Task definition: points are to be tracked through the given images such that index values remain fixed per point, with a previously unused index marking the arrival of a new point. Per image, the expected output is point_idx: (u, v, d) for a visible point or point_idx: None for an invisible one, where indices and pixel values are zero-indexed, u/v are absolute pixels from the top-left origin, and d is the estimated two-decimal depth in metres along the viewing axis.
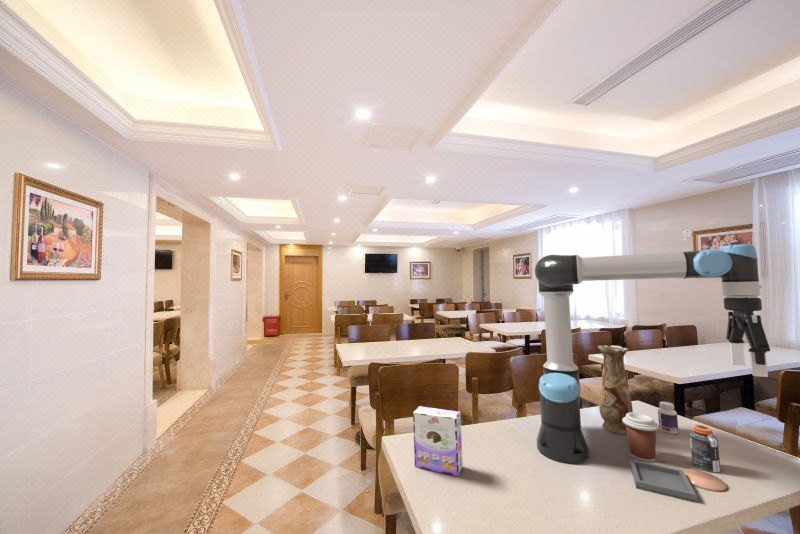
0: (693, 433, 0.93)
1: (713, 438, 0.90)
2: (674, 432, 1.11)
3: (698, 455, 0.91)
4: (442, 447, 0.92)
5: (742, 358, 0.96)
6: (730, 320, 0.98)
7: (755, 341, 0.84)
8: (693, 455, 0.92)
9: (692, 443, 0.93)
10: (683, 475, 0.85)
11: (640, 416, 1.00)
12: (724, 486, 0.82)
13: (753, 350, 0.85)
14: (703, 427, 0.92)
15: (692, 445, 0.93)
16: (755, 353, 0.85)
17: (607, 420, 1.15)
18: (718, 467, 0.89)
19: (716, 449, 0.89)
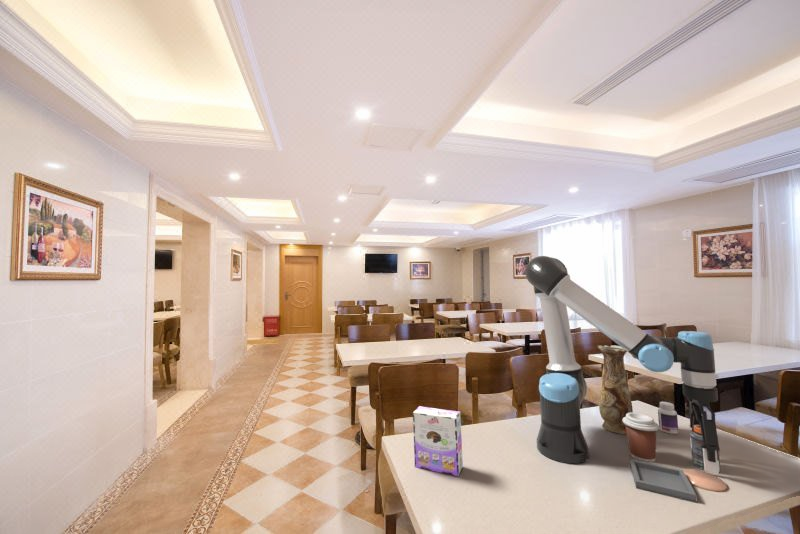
0: (693, 433, 0.93)
1: None
2: (674, 432, 1.11)
3: (698, 455, 0.91)
4: (442, 447, 0.92)
5: None
6: (691, 406, 0.98)
7: (707, 440, 0.86)
8: (693, 455, 0.92)
9: (692, 443, 0.93)
10: (683, 475, 0.85)
11: (640, 416, 1.00)
12: (724, 486, 0.82)
13: (704, 447, 0.87)
14: None
15: (692, 445, 0.93)
16: (707, 449, 0.88)
17: (607, 420, 1.15)
18: (718, 467, 0.89)
19: None
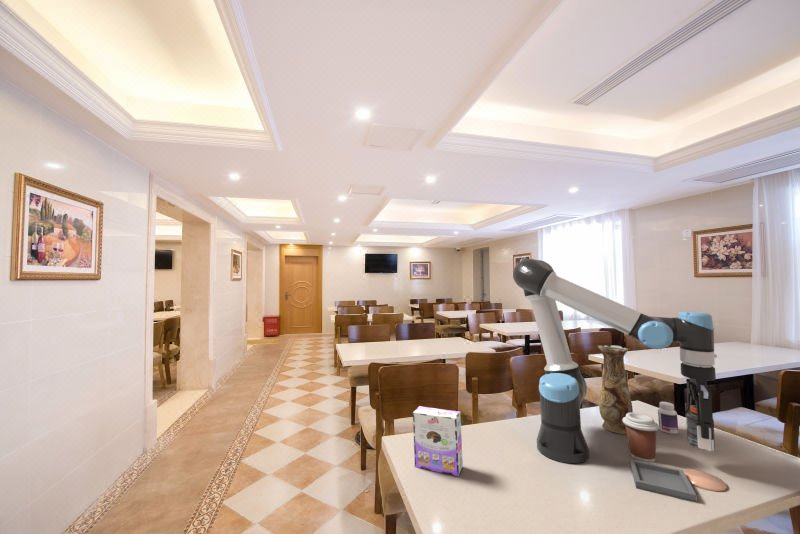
0: (689, 413, 0.94)
1: None
2: (674, 432, 1.11)
3: (693, 434, 0.91)
4: (442, 447, 0.92)
5: None
6: (688, 387, 0.98)
7: (701, 417, 0.88)
8: (688, 434, 0.93)
9: (688, 423, 0.93)
10: (683, 475, 0.85)
11: (640, 416, 1.00)
12: (724, 486, 0.82)
13: (699, 425, 0.89)
14: None
15: (688, 425, 0.93)
16: (701, 427, 0.89)
17: (607, 420, 1.15)
18: (713, 446, 0.90)
19: (712, 429, 0.90)
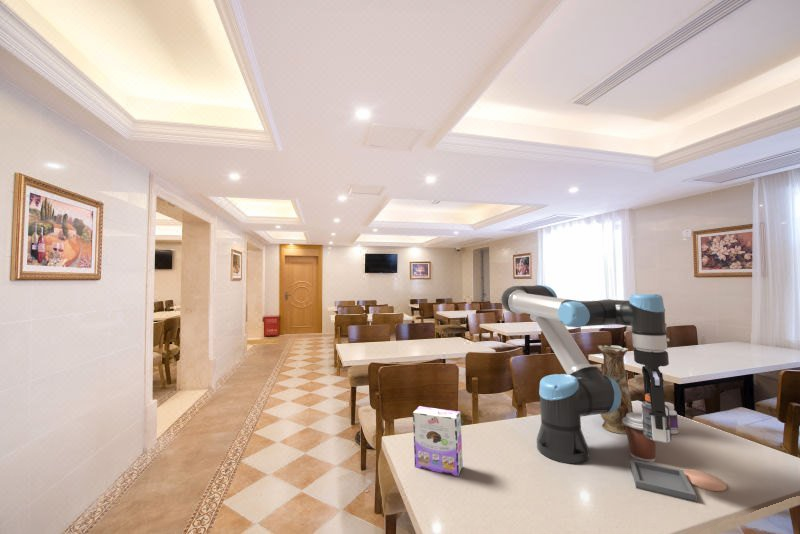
0: (644, 402, 0.87)
1: None
2: (674, 432, 1.11)
3: (648, 425, 0.85)
4: (442, 447, 0.92)
5: None
6: None
7: (654, 406, 0.81)
8: (644, 425, 0.86)
9: (643, 413, 0.87)
10: (683, 475, 0.85)
11: (640, 416, 1.00)
12: (724, 486, 0.82)
13: (652, 414, 0.83)
14: None
15: (643, 415, 0.87)
16: (654, 417, 0.83)
17: (607, 420, 1.15)
18: (668, 437, 0.83)
19: (666, 418, 0.83)
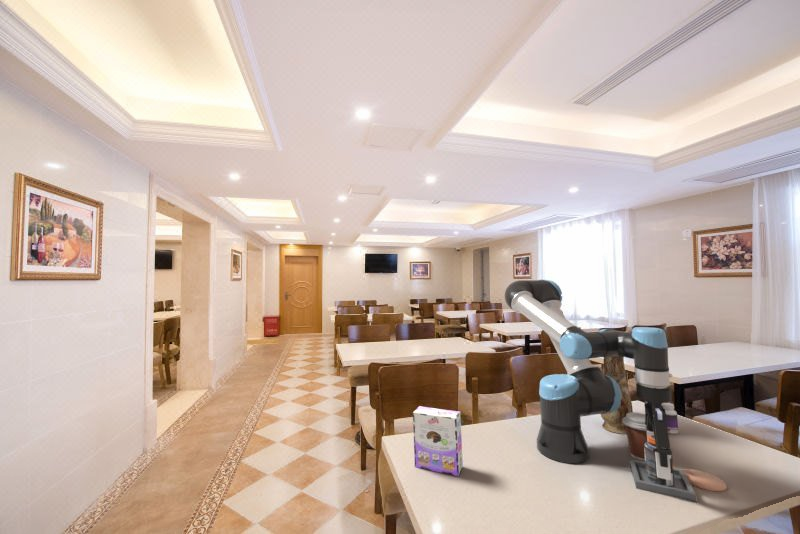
0: (647, 443, 0.87)
1: None
2: (674, 432, 1.11)
3: (651, 467, 0.84)
4: (442, 447, 0.92)
5: None
6: None
7: (658, 442, 0.79)
8: (646, 467, 0.86)
9: (646, 454, 0.86)
10: (683, 475, 0.85)
11: (640, 416, 1.00)
12: (724, 486, 0.82)
13: (656, 451, 0.80)
14: None
15: (646, 456, 0.86)
16: (659, 453, 0.80)
17: (607, 420, 1.15)
18: (671, 481, 0.82)
19: (670, 461, 0.83)
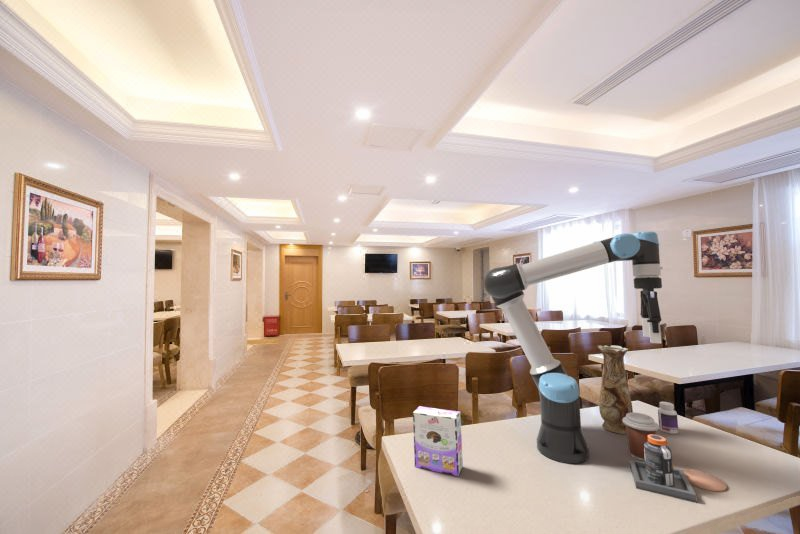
0: (647, 443, 0.87)
1: (666, 449, 0.83)
2: (674, 432, 1.11)
3: (651, 467, 0.84)
4: (442, 447, 0.92)
5: None
6: None
7: (651, 313, 0.99)
8: (646, 467, 0.86)
9: (645, 454, 0.86)
10: (683, 475, 0.85)
11: (640, 416, 1.00)
12: (724, 486, 0.82)
13: (650, 321, 1.00)
14: (657, 437, 0.86)
15: (645, 456, 0.86)
16: (652, 323, 1.00)
17: (607, 420, 1.15)
18: (671, 481, 0.82)
19: (669, 461, 0.83)
